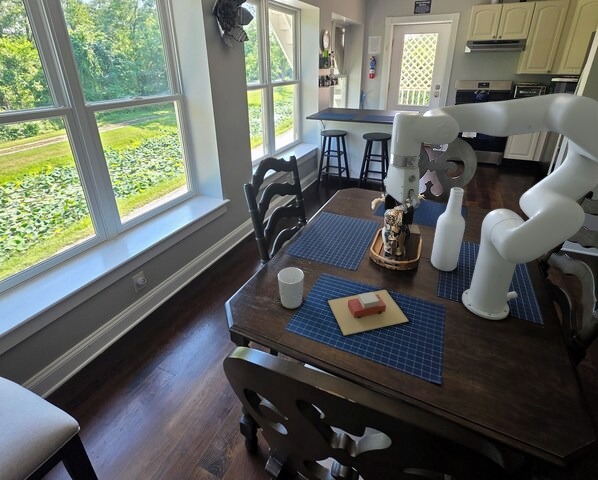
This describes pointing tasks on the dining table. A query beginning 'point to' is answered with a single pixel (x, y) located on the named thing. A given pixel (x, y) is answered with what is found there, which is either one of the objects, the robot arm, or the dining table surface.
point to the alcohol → (449, 233)
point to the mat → (369, 321)
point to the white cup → (291, 287)
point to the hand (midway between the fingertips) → (397, 216)
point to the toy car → (366, 305)
